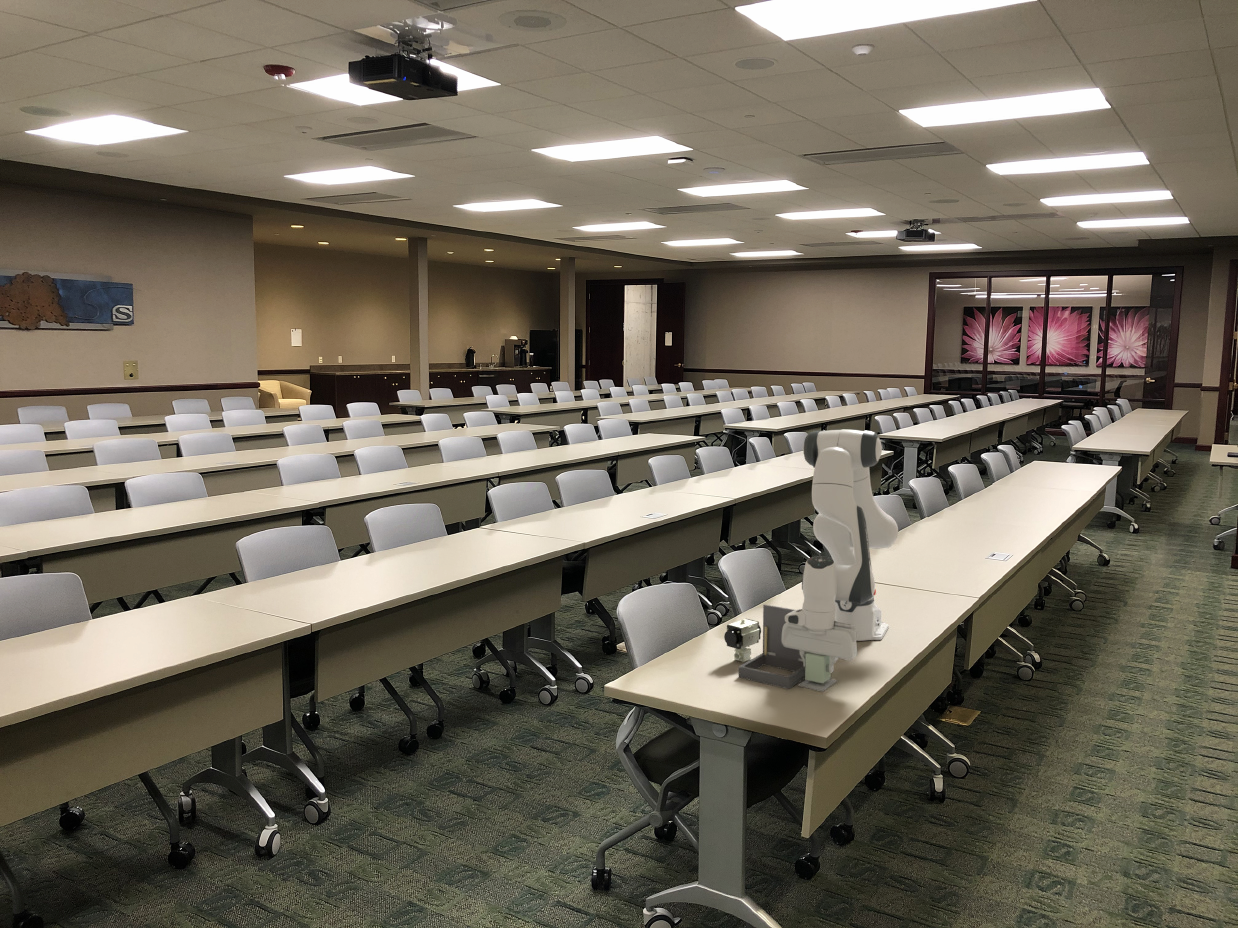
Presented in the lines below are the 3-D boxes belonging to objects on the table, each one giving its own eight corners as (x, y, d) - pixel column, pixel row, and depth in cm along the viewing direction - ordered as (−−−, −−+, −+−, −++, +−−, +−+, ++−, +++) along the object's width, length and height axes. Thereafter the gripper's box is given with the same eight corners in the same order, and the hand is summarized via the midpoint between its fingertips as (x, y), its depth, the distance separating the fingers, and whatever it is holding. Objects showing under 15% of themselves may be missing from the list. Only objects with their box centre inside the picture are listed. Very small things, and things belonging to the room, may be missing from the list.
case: (764, 662, 256) (765, 604, 254) (813, 672, 247) (814, 612, 245) (738, 677, 244) (739, 616, 242) (789, 689, 235) (790, 626, 233)
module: (813, 673, 242) (813, 646, 242) (830, 677, 240) (831, 650, 239) (805, 679, 238) (805, 651, 238) (822, 683, 236) (823, 655, 235)
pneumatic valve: (723, 662, 256) (723, 622, 254) (748, 653, 264) (749, 613, 262) (738, 667, 252) (739, 626, 250) (763, 657, 260) (764, 617, 259)
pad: (812, 676, 245) (812, 674, 245) (836, 681, 241) (837, 680, 241) (798, 685, 238) (798, 684, 238) (823, 691, 233) (823, 690, 233)
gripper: (861, 622, 233) (860, 673, 235) (789, 609, 246) (788, 658, 247) (852, 628, 228) (850, 680, 230) (779, 615, 240) (778, 664, 242)
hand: (818, 668), depth 239 cm, fingers closed on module, 5 cm apart
